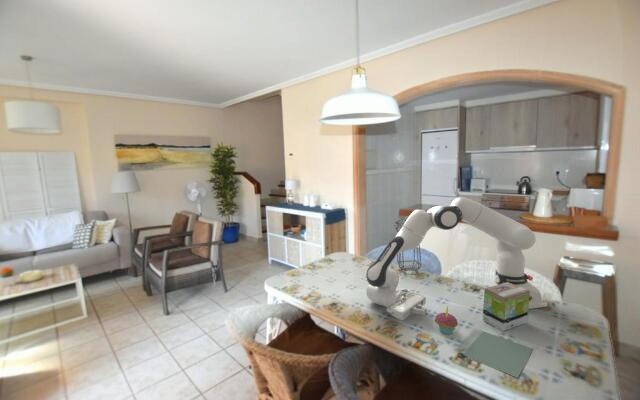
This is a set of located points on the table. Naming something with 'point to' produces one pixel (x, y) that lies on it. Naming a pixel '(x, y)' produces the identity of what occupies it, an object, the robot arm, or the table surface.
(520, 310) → the tea box
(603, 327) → the table surface
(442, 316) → the cupcake
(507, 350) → the mat
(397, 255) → the geometric lantern
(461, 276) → the table surface
